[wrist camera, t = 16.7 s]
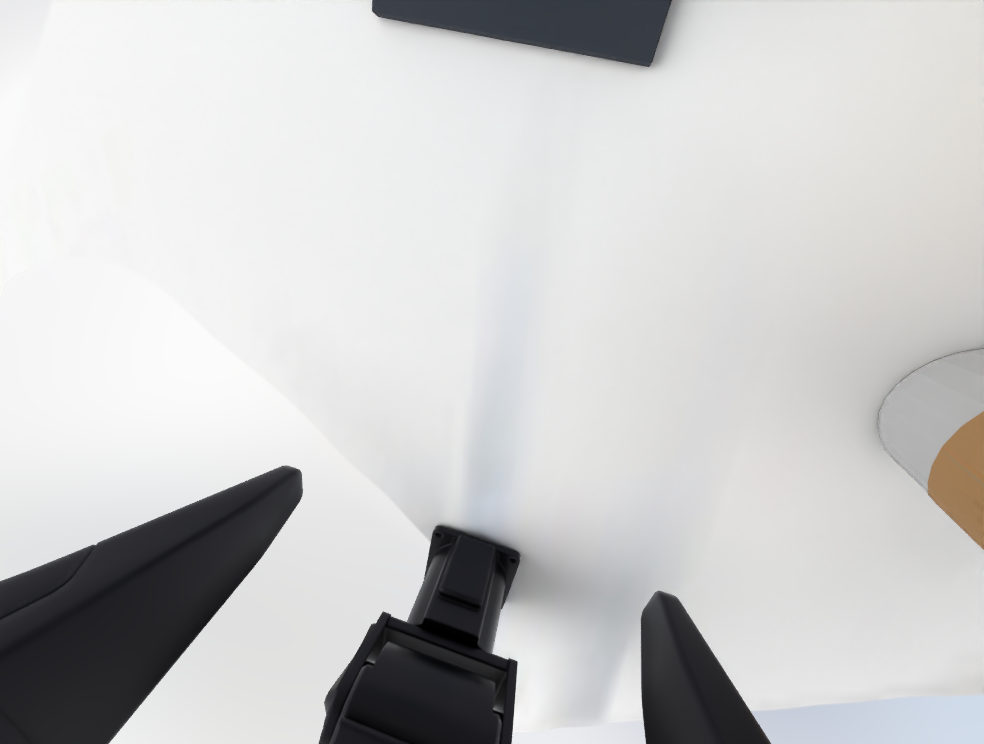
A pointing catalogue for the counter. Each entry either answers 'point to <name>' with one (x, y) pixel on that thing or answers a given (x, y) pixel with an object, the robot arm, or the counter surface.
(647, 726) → the robot arm
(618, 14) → the mat
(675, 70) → the counter surface
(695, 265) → the counter surface
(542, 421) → the counter surface
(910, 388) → the coffee cup
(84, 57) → the counter surface
